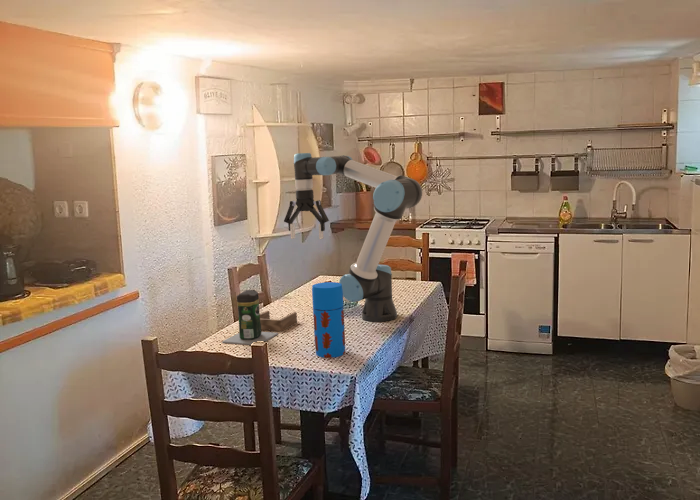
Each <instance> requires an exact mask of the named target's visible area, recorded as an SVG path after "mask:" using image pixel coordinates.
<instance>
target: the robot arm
mask: <svg viewBox="0 0 700 500" xmlns="http://www.w3.org/2000/svg"><path fill="white" fill-rule="evenodd" d="M293 167H294V169H293V170H294V180H295V183H294V184H295V185H294V186H295V187H294V188H295V189H296V190H295V198H296V201H295V200H290V201H289V206H288V209H287V211H286V214H285V217H284V220H283V223H287V224H288V231H289V232H290V239H291V240H293V239H296V226H295V223H294V222H295V220H296V219H297V217H298V216H299V214H300V213H301V212H310V213H311V214H312V215H313V216H314V217H315V218H316V220H317V222H318V239H319V240H322V239H324V232H325V230H326V226H325V225H326V223H328V222H329V218H328V215H327V214H326V212H325V210H324V208H323V205H322V202H321V200H320V199H318V200H316V201H315V200H314V189H313V188H314V182H313V176H323V177H325V176H331V175H341V176H345V177H346V178H349V179H351V180H354V181H358V182H359V183H362V184H364V185H367V186H370V187H372V188H374V191H373V194H372V195H373V196H372V199H373V204H374V206H373V210H374V212H375V213H374V216H373V219H372V222H371V224H370V227H369V228H368V229H369V230H368V231H367V235H366V236H365V239H364V242H363V245H362V247H361V249H360V251H359V255H358V257H357V258H356V259H357V260H356V262H354V263H352V264H351V265H350V267H349V269H348V272H347V273H346V274H344V275H341V277H340V279H339V282H338V283H341V284H342V289H343V299H345V300H347V301H348V302H350V303H354V302H355V303H356V302H360V301H362V300H364V304H363V307H362V310H361V318H362V319H363V321H368V322H376V323H377V322H388V321H392V320H395V319H397V317H398V312H397V308H396V306H395V302H394V300H393V285H392V284H393V279H392V277H393V274H392V267H391V266H389V265H388V264H380V261H381V259H382V256H383V254H384V251H385V249H386V247H387V245H388V241H389V239H390V237H391V235H392V232H393V230H394V228H395V227H394V226H395V224H396V222H397V221H401V219H402V218H403V215H404V214H405V211H406V209H411V208H414V207H416V206H417V205H418V204H419V203H420V202H421V200H422V198H423V189H422V186H421V184H420V183H419V181H417V180H416V179H413V178H410V177H408V176H406V175H404V174H403V175H402V174H399V175H394V174H392V173H389V172H386V171H384V170H381V169H379V168H376V167H373V166H371V165H367V164H364V163H361V162H359V161H357V160H353V158H352V157H351V156H349V155H336V156H333V155H332V156H319V157H316V156H315V157H312V153H311V152H307V153H306V152H300V153H298V152H297V153H295V154H294V156H293ZM295 206H296V209H295ZM314 206H316V208H315V207H314ZM294 209H295V210H294ZM316 209H317V210H316ZM293 211H294V212H293Z"/></svg>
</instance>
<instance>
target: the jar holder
mask: <svg viewBox="0 0 700 500" xmlns="http://www.w3.org/2000/svg"><path fill="white" fill-rule="evenodd" d="M297 316H298V314H297V312H296V311H294V312H292V313H290V314H287V315H286V316H284V317H282V318H280V319H271V317H270V310H265V311H263V312H261V313H260V323H261V331H268V332H282V331H285V330H286V329H289V328H290V327H292V326H294V325H295V324H297V323H298V317H297Z"/></svg>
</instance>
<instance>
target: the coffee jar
mask: <svg viewBox="0 0 700 500" xmlns="http://www.w3.org/2000/svg"><path fill="white" fill-rule="evenodd" d="M236 306H237V311H238V312H237V313H238V333H239V335H240V338H241V339H245V340H250V339H256V338H258V337H259V336H260V335H261V333H262V332H263V331H262V330H261V323H260V314H261V313H260V297H259V293H258V291H256V290H255V289H246V290H244V291H242V292H240V293H239V294H237V295H236Z"/></svg>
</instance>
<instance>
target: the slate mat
mask: <svg viewBox="0 0 700 500" xmlns="http://www.w3.org/2000/svg"><path fill="white" fill-rule="evenodd" d="M261 332H262V333H261V335H260V336H259V337H258V338H256V339H250V340H245V339H241V338H240V335H239V332H238V333H235V334H233V335H232V336H230V337H228V338H226V339H224V340H222V341H221V342H222V343H223V344H233V345H247V346H252V345H251V344H252V343H253V342H257V341H266V342H267V341H268V340H271V339H273V338H274V337H276V336H278V335H279V332H274V331H261Z"/></svg>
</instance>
